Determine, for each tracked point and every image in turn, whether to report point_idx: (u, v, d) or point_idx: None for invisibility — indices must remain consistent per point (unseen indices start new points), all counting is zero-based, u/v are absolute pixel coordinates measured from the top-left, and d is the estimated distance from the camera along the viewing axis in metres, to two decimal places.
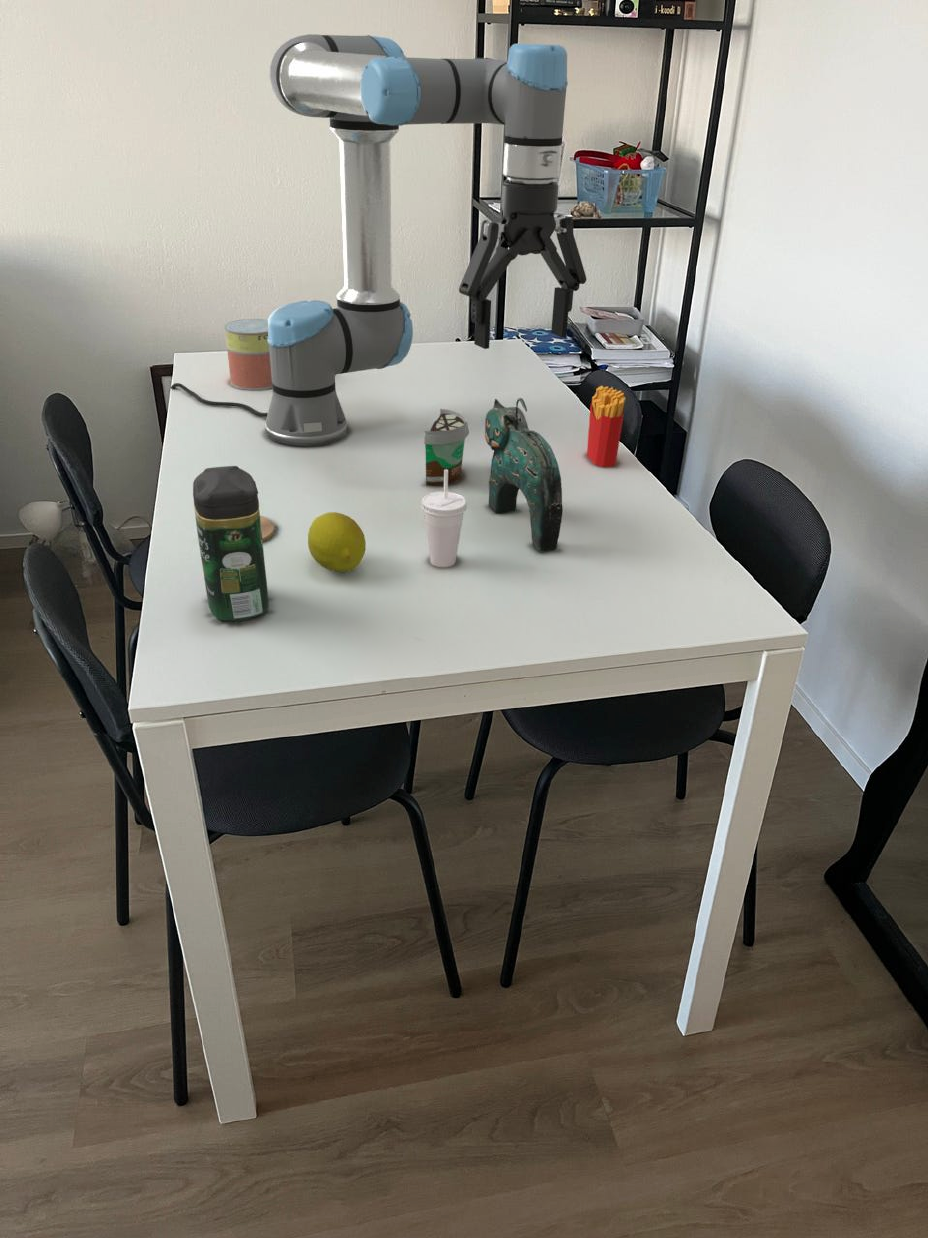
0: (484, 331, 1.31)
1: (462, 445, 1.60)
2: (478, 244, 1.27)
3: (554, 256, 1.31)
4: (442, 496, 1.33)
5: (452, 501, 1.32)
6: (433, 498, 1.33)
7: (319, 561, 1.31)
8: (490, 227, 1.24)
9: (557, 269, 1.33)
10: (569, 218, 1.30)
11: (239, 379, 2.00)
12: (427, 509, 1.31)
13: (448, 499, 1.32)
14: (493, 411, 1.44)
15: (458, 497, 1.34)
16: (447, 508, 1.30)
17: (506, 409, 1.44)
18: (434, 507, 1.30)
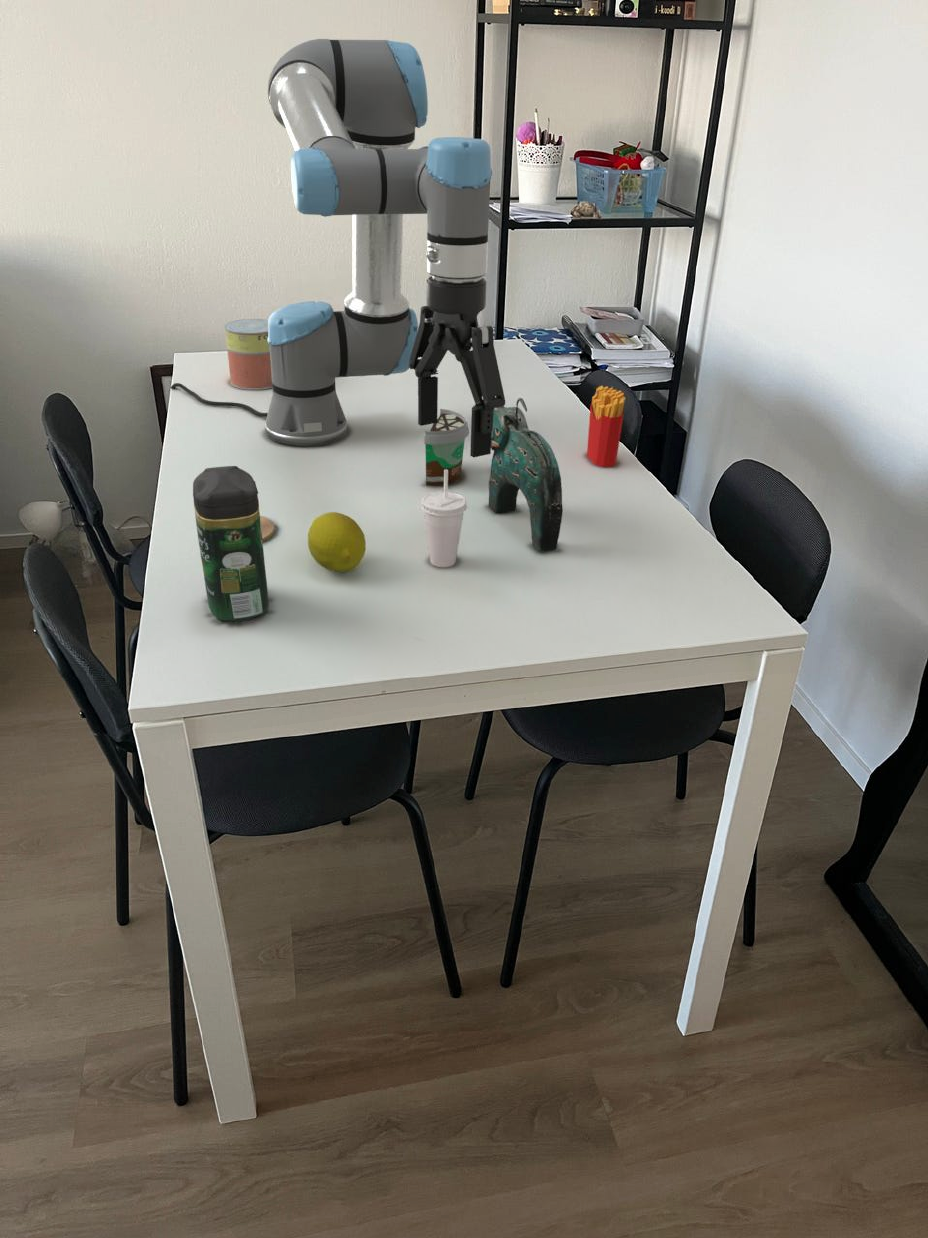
0: (419, 407, 1.32)
1: (462, 445, 1.60)
2: None
3: (463, 364, 1.20)
4: (442, 496, 1.33)
5: (452, 501, 1.32)
6: (433, 498, 1.33)
7: (319, 561, 1.31)
8: None
9: None
10: (473, 329, 1.16)
11: (239, 379, 2.00)
12: (427, 509, 1.31)
13: (448, 499, 1.32)
14: None
15: (458, 497, 1.34)
16: (447, 508, 1.30)
17: (506, 409, 1.44)
18: (434, 507, 1.30)
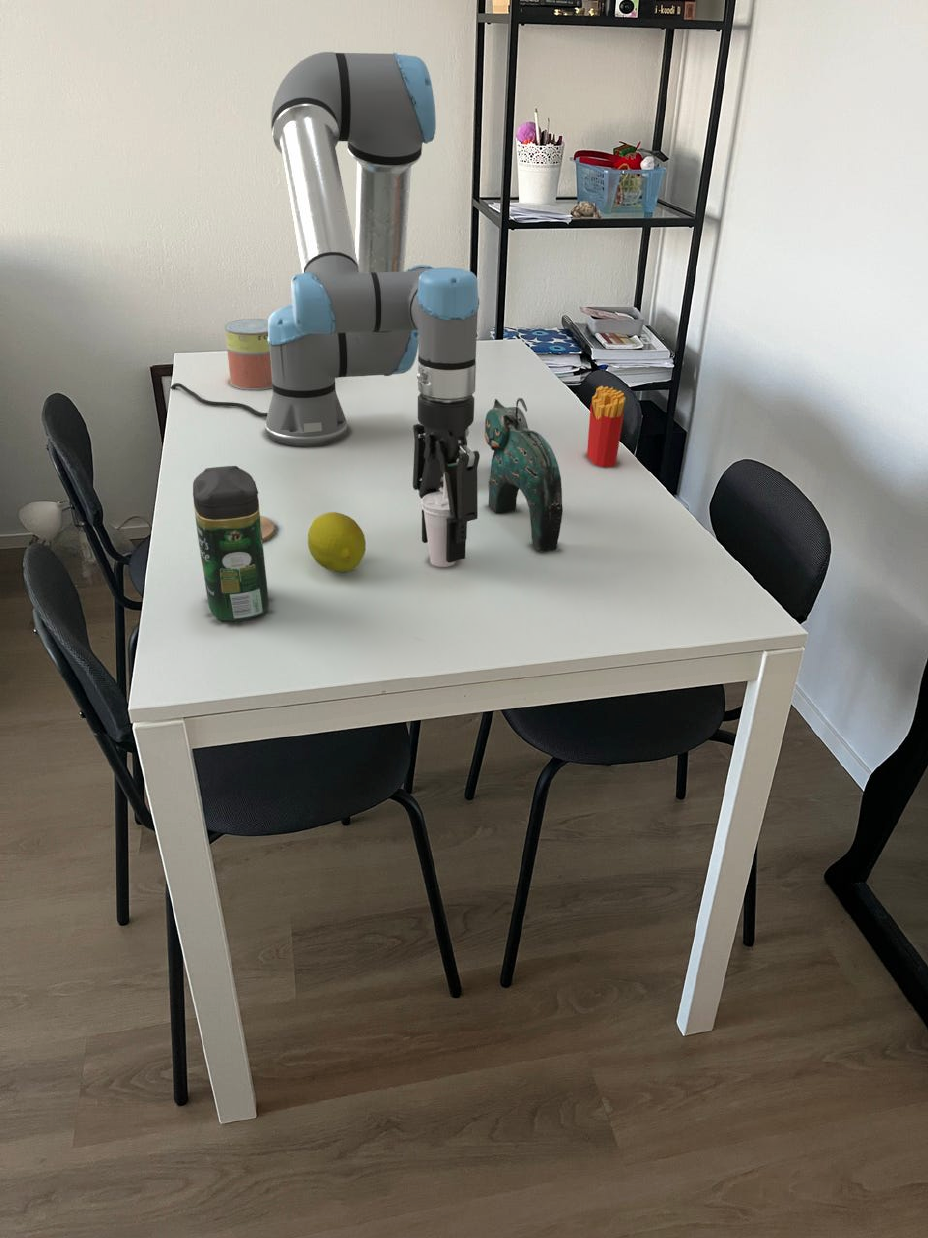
0: (423, 526, 1.38)
1: None
2: None
3: (446, 476, 1.28)
4: (442, 496, 1.33)
5: None
6: (433, 498, 1.33)
7: (319, 561, 1.31)
8: None
9: (448, 491, 1.29)
10: (461, 455, 1.23)
11: (239, 379, 2.00)
12: (427, 509, 1.31)
13: None
14: (493, 411, 1.44)
15: None
16: (447, 508, 1.30)
17: (506, 409, 1.44)
18: (434, 507, 1.31)
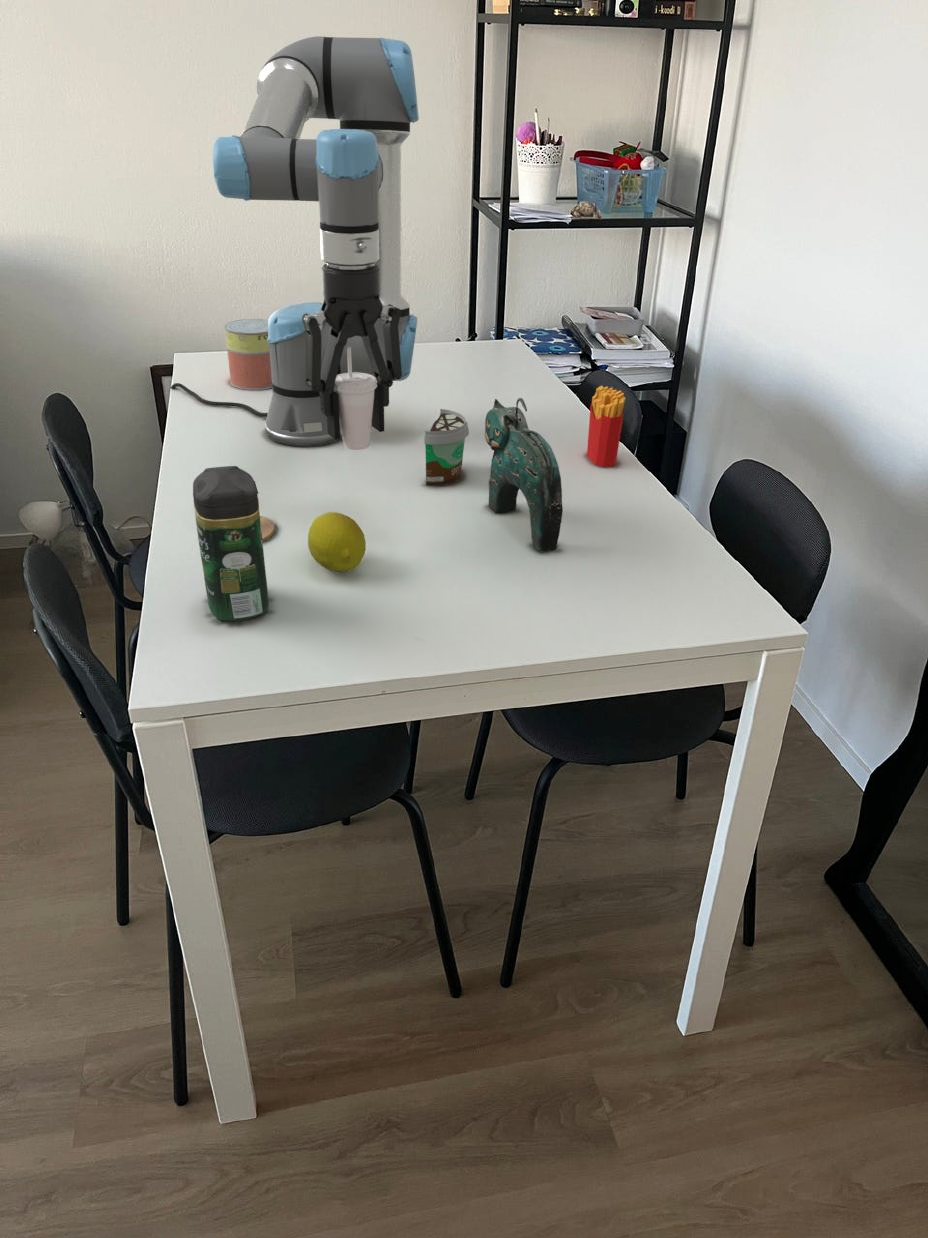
0: (333, 422, 1.31)
1: (462, 445, 1.60)
2: (306, 338, 1.26)
3: (373, 345, 1.29)
4: (346, 378, 1.31)
5: (358, 376, 1.32)
6: (346, 383, 1.30)
7: (319, 561, 1.31)
8: (308, 324, 1.23)
9: (374, 360, 1.30)
10: (397, 309, 1.28)
11: (239, 379, 2.00)
12: (366, 388, 1.29)
13: (354, 376, 1.31)
14: (493, 411, 1.44)
15: (346, 374, 1.33)
16: (372, 378, 1.31)
17: (506, 409, 1.44)
18: (370, 383, 1.30)
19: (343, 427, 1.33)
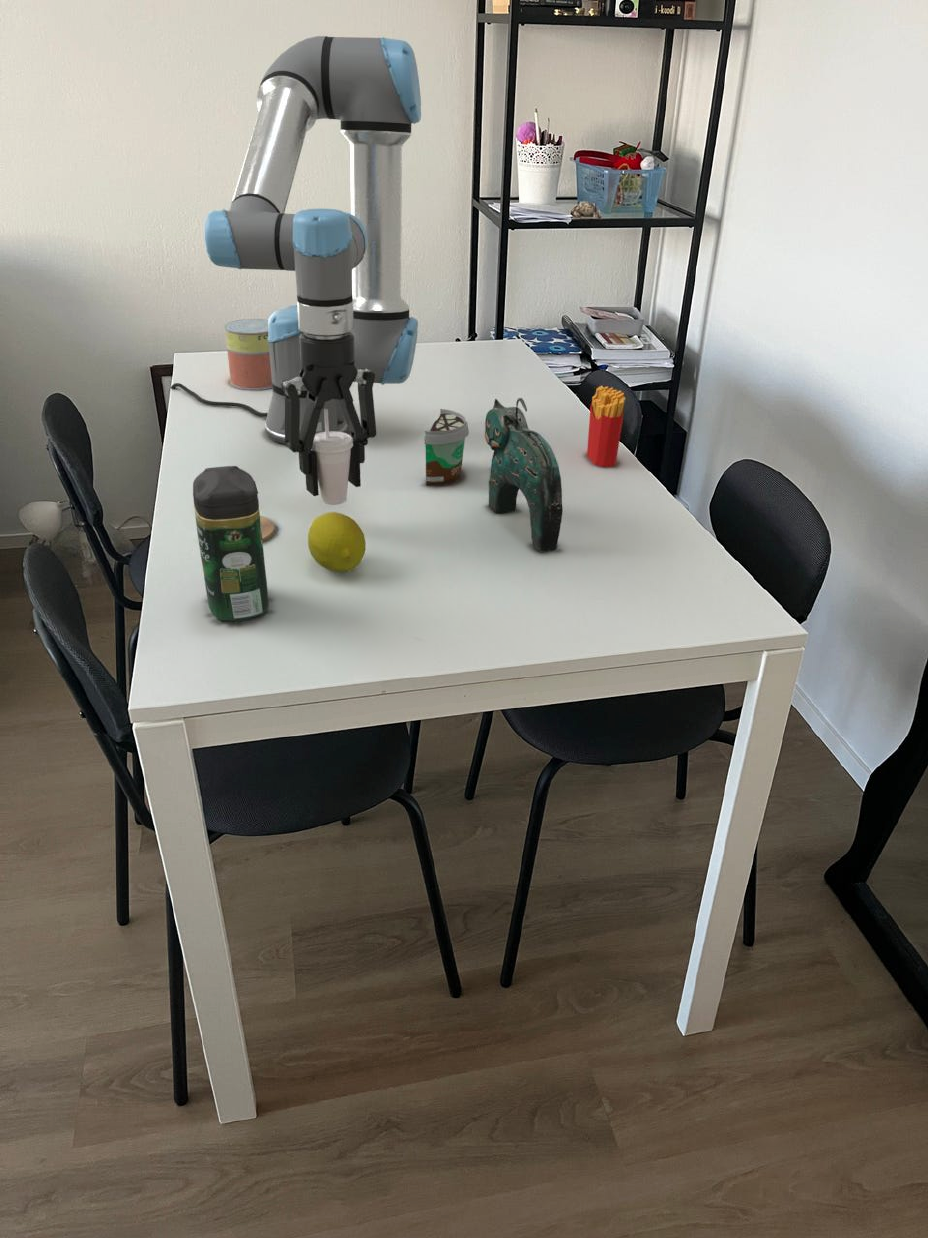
0: (312, 480, 1.38)
1: (462, 445, 1.60)
2: (285, 402, 1.32)
3: (349, 406, 1.35)
4: (324, 438, 1.37)
5: (334, 435, 1.39)
6: (324, 443, 1.36)
7: (319, 561, 1.31)
8: (287, 390, 1.29)
9: (350, 420, 1.37)
10: (371, 373, 1.35)
11: (239, 379, 2.00)
12: (343, 448, 1.36)
13: (331, 436, 1.38)
14: (493, 411, 1.44)
15: (324, 433, 1.39)
16: (348, 438, 1.38)
17: (506, 409, 1.44)
18: (346, 442, 1.37)
19: (321, 484, 1.40)
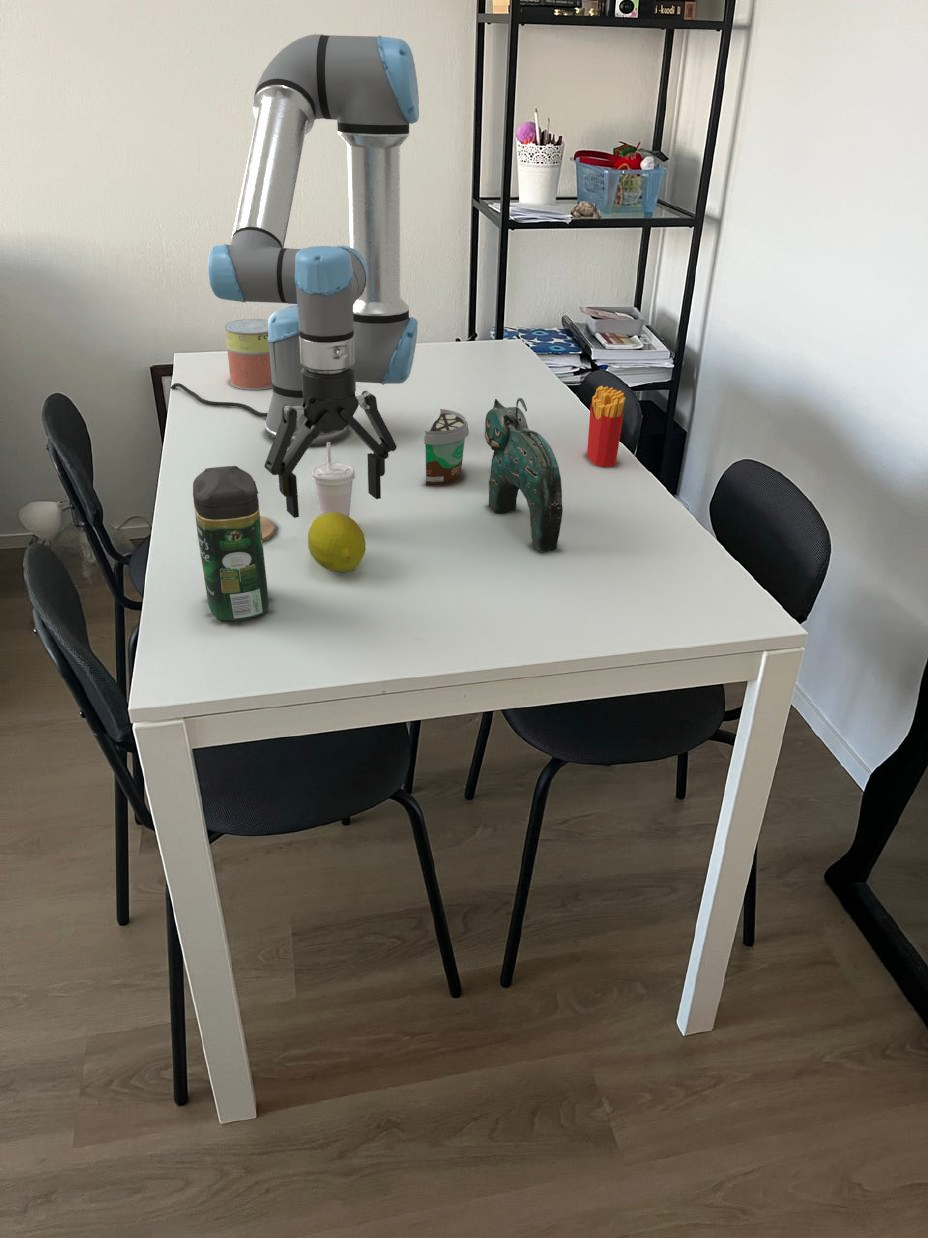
0: (292, 502, 1.38)
1: (462, 445, 1.60)
2: (280, 426, 1.33)
3: (359, 430, 1.38)
4: (326, 470, 1.40)
5: (336, 467, 1.41)
6: (326, 475, 1.39)
7: (319, 561, 1.31)
8: (288, 413, 1.31)
9: (365, 441, 1.40)
10: (371, 396, 1.37)
11: (239, 379, 2.00)
12: (345, 480, 1.39)
13: (333, 468, 1.41)
14: (493, 411, 1.44)
15: (326, 465, 1.42)
16: (350, 470, 1.41)
17: (506, 409, 1.44)
18: (348, 475, 1.39)
19: None
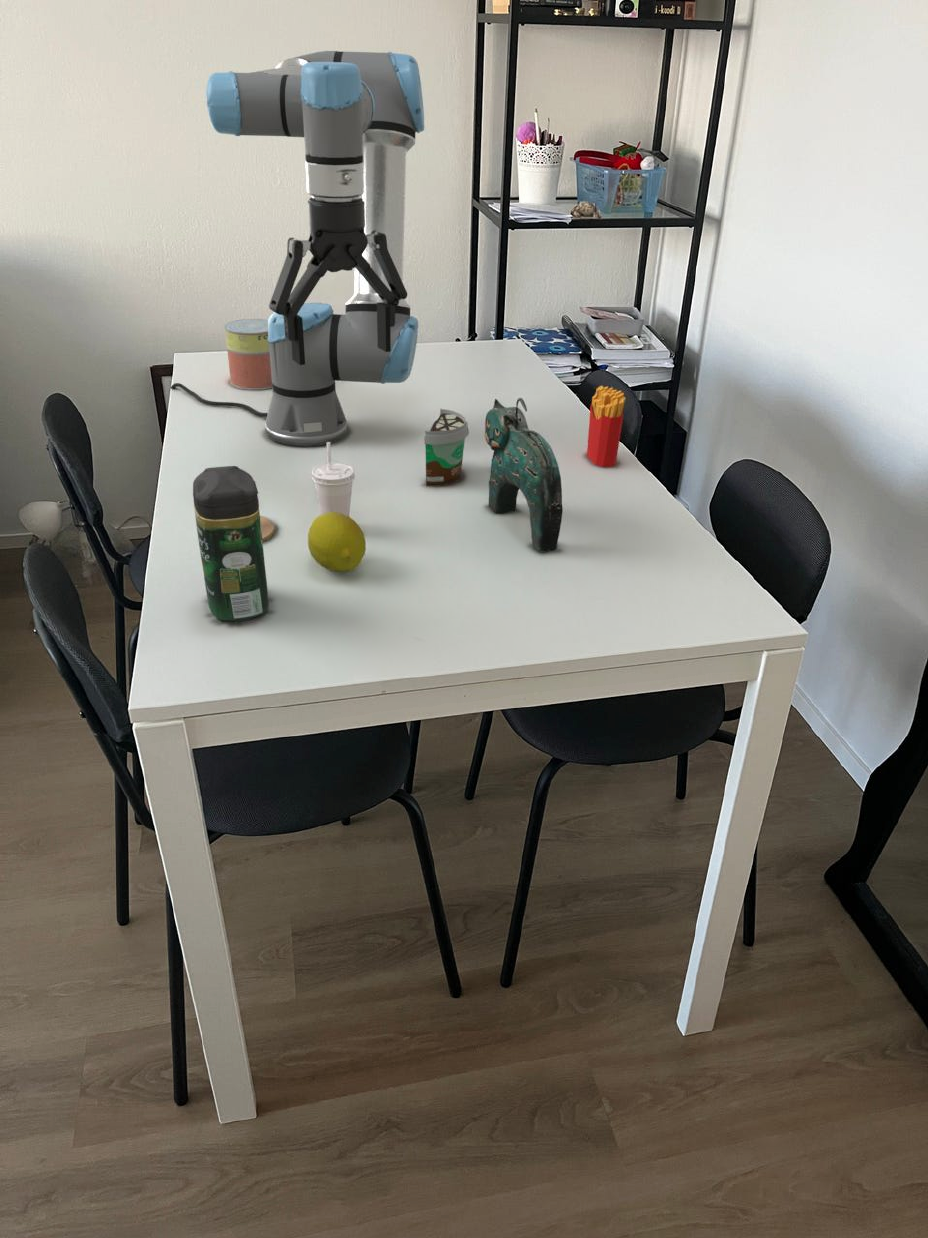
0: (298, 347, 1.31)
1: (462, 445, 1.60)
2: (285, 261, 1.27)
3: (368, 272, 1.32)
4: (326, 470, 1.40)
5: (336, 467, 1.41)
6: (326, 475, 1.39)
7: (319, 561, 1.31)
8: (294, 245, 1.24)
9: (374, 285, 1.33)
10: (381, 234, 1.30)
11: (239, 379, 2.00)
12: (345, 480, 1.39)
13: (333, 468, 1.41)
14: (493, 411, 1.44)
15: (326, 465, 1.42)
16: (350, 470, 1.41)
17: (506, 409, 1.44)
18: (348, 475, 1.39)
19: None
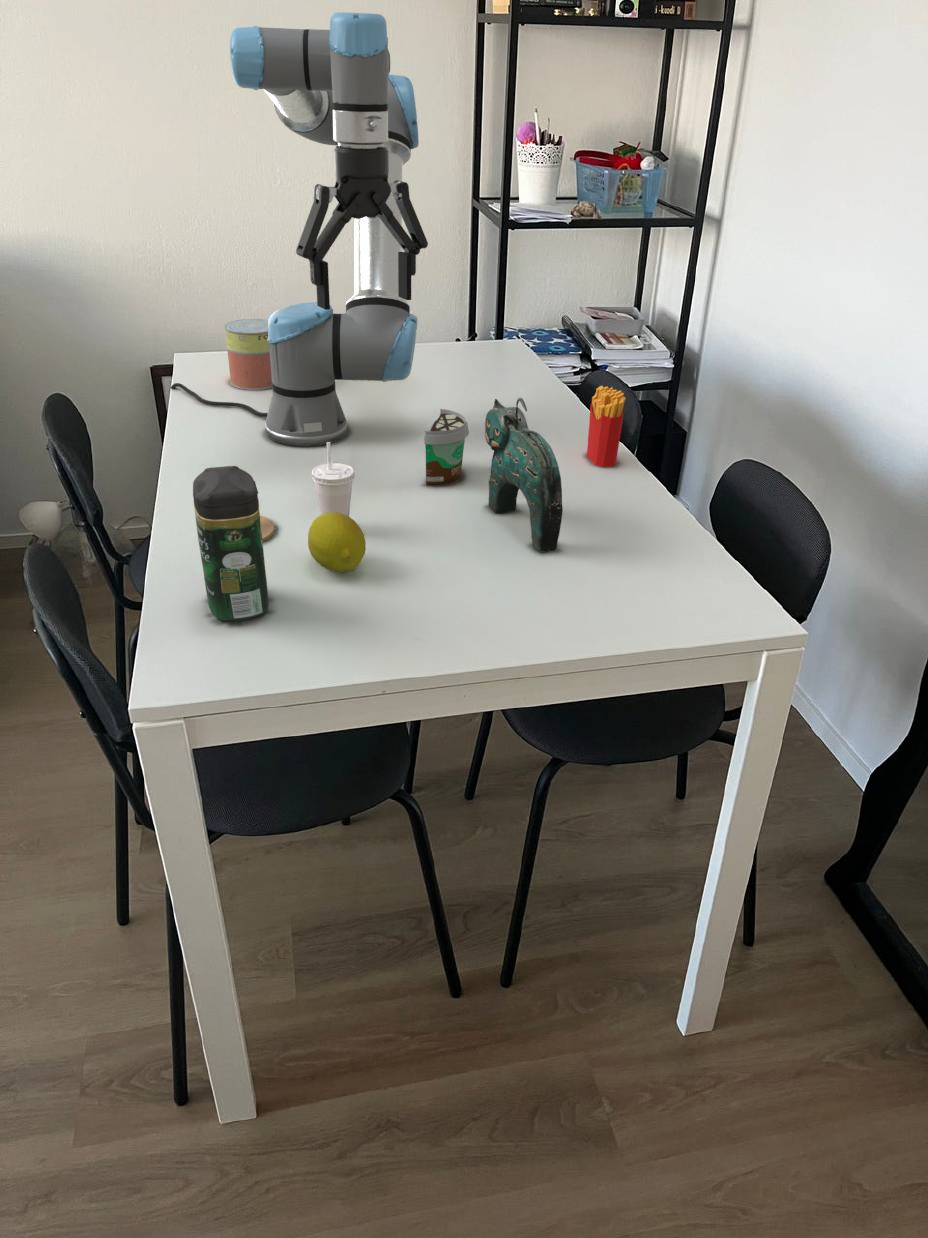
0: (323, 292, 1.36)
1: (462, 445, 1.60)
2: (312, 207, 1.32)
3: (391, 220, 1.37)
4: (326, 470, 1.40)
5: (336, 467, 1.41)
6: (326, 475, 1.39)
7: (319, 561, 1.31)
8: (321, 190, 1.29)
9: (396, 233, 1.38)
10: (404, 183, 1.35)
11: (239, 379, 2.00)
12: (345, 480, 1.39)
13: (333, 468, 1.41)
14: (493, 411, 1.44)
15: (326, 465, 1.42)
16: (350, 470, 1.41)
17: (506, 409, 1.44)
18: (348, 475, 1.39)
19: None
